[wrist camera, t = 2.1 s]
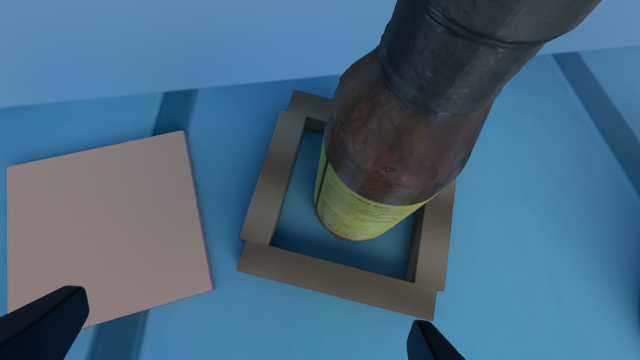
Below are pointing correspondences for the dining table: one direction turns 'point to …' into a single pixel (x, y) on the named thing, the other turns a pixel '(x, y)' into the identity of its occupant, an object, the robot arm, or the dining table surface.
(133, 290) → the tile
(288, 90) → the dining table surface
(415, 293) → the bottle holder
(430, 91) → the sauce bottle
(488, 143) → the dining table surface
